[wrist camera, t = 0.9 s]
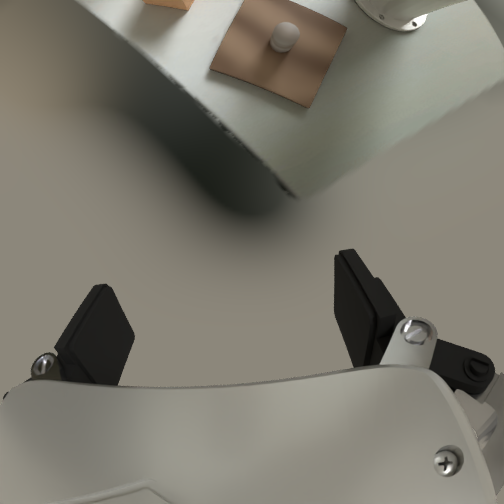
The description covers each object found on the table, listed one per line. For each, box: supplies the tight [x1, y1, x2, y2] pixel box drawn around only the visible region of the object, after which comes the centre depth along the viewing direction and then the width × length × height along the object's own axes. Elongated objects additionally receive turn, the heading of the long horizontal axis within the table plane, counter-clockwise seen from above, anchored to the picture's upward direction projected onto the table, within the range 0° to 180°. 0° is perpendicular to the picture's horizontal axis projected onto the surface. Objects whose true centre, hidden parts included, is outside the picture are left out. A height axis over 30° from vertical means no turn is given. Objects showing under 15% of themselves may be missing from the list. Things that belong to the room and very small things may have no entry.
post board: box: [210, 0, 347, 108], centre depth 25 cm, size 13×13×6 cm
